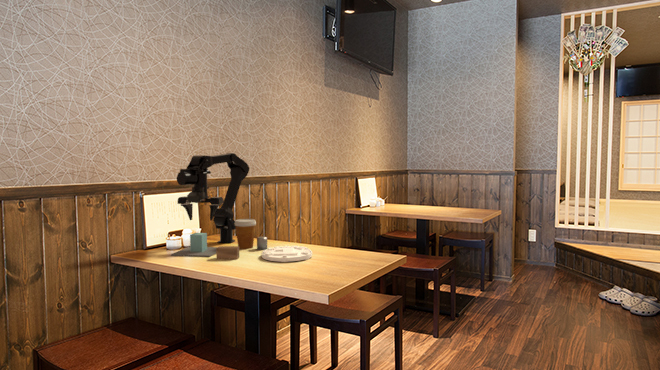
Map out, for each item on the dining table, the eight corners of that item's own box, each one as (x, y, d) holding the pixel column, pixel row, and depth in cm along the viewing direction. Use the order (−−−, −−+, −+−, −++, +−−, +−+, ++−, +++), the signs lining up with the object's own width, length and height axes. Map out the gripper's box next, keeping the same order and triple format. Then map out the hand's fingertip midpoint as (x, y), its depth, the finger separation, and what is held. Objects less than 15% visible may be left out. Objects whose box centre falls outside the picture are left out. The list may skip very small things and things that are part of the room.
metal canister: (258, 247, 186) (258, 236, 186) (268, 248, 186) (268, 236, 186) (255, 249, 182) (255, 238, 182) (265, 250, 181) (265, 238, 181)
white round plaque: (252, 261, 163) (252, 254, 163) (274, 251, 182) (274, 244, 181) (301, 265, 157) (301, 257, 157) (319, 253, 176) (318, 246, 176)
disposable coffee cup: (232, 246, 189) (232, 219, 189) (253, 244, 193) (253, 218, 193) (237, 250, 181) (237, 222, 180) (259, 248, 185) (259, 221, 184)
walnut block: (219, 257, 168) (218, 246, 168) (239, 257, 168) (239, 246, 168) (216, 259, 164) (216, 248, 164) (237, 259, 164) (237, 248, 164)
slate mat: (189, 247, 186) (189, 246, 186) (224, 248, 184) (224, 247, 184) (171, 255, 170) (171, 254, 170) (209, 257, 168) (209, 255, 168)
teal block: (195, 249, 180) (195, 232, 180) (207, 249, 179) (206, 233, 179) (190, 251, 175) (190, 234, 175) (202, 252, 174) (201, 235, 174)
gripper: (170, 185, 178) (171, 222, 179) (213, 185, 176) (214, 223, 177) (183, 183, 189) (183, 218, 190) (223, 184, 187) (224, 219, 188)
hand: (200, 220), depth 186 cm, fingers open, 9 cm apart
